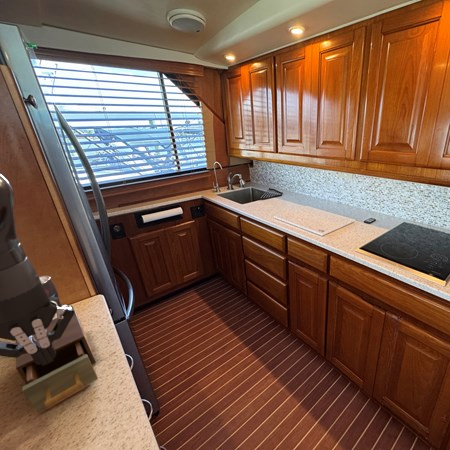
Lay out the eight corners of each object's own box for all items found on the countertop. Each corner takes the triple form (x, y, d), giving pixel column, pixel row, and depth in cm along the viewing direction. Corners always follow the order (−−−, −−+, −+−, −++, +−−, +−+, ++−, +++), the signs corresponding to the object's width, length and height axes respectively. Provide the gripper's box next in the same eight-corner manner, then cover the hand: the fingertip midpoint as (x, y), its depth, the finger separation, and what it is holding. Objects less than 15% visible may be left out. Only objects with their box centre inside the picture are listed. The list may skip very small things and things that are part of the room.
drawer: (103, 393, 53) (92, 370, 50) (39, 432, 46) (22, 408, 43) (87, 349, 64) (78, 328, 61) (34, 375, 57) (21, 353, 54)
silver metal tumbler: (68, 311, 79) (51, 272, 74) (69, 322, 75) (51, 281, 69) (39, 322, 75) (18, 282, 69) (38, 334, 70) (15, 292, 65)
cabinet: (96, 362, 61) (84, 335, 58) (33, 396, 53) (15, 367, 50) (85, 334, 70) (75, 310, 67) (30, 360, 62) (15, 334, 59)
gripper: (58, 265, 48) (87, 331, 54) (-54, 297, 38) (-4, 373, 45) (63, 279, 43) (94, 350, 49) (-63, 319, 34) (-6, 400, 40)
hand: (47, 361), depth 47 cm, fingers closed
